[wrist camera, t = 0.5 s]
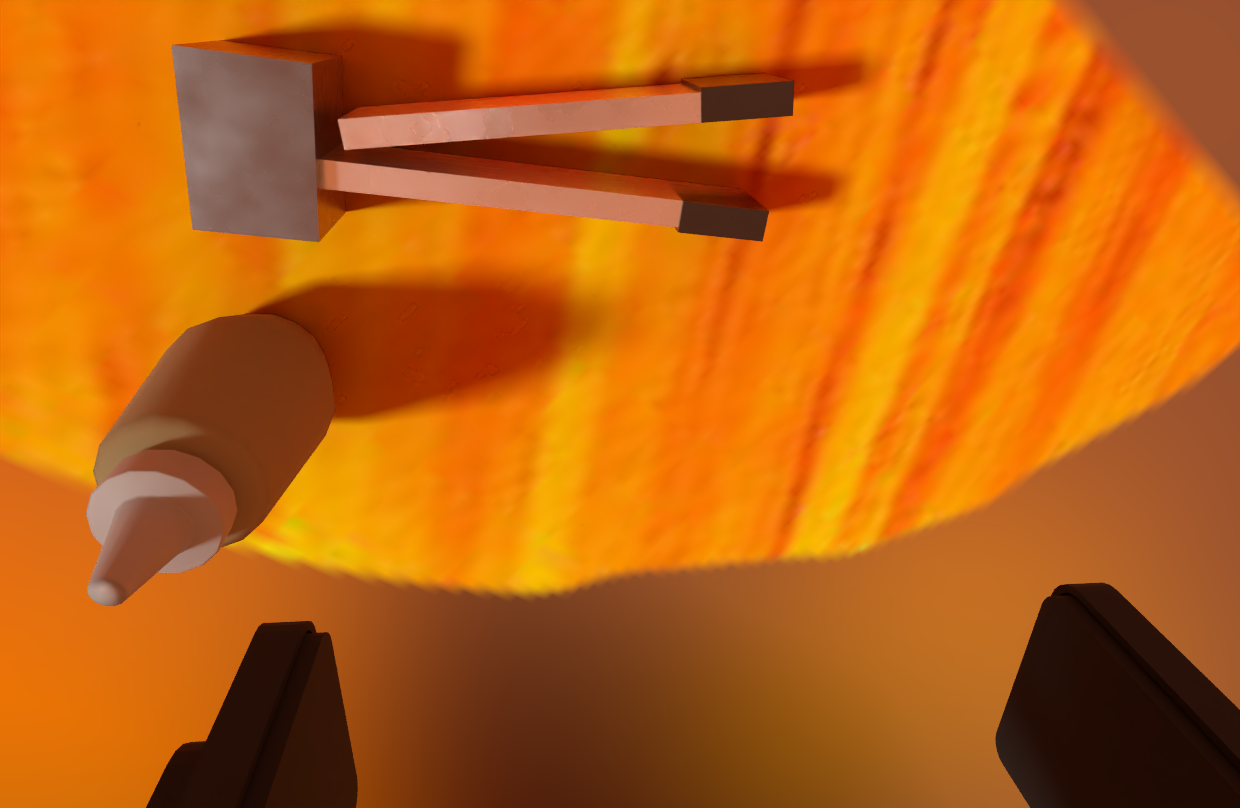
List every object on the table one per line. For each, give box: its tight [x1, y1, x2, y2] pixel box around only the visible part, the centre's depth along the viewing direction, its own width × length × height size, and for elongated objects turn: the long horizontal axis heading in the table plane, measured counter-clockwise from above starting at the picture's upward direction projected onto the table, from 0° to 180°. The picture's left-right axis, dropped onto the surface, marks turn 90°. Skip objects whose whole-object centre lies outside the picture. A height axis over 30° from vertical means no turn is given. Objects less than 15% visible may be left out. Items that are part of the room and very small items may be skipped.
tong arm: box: [338, 73, 794, 150], centre depth 34 cm, size 19×1×5 cm, turn 93°
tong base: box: [172, 40, 769, 242], centre depth 35 cm, size 24×7×6 cm, turn 82°
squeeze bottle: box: [86, 314, 335, 606], centre depth 32 cm, size 8×8×18 cm
